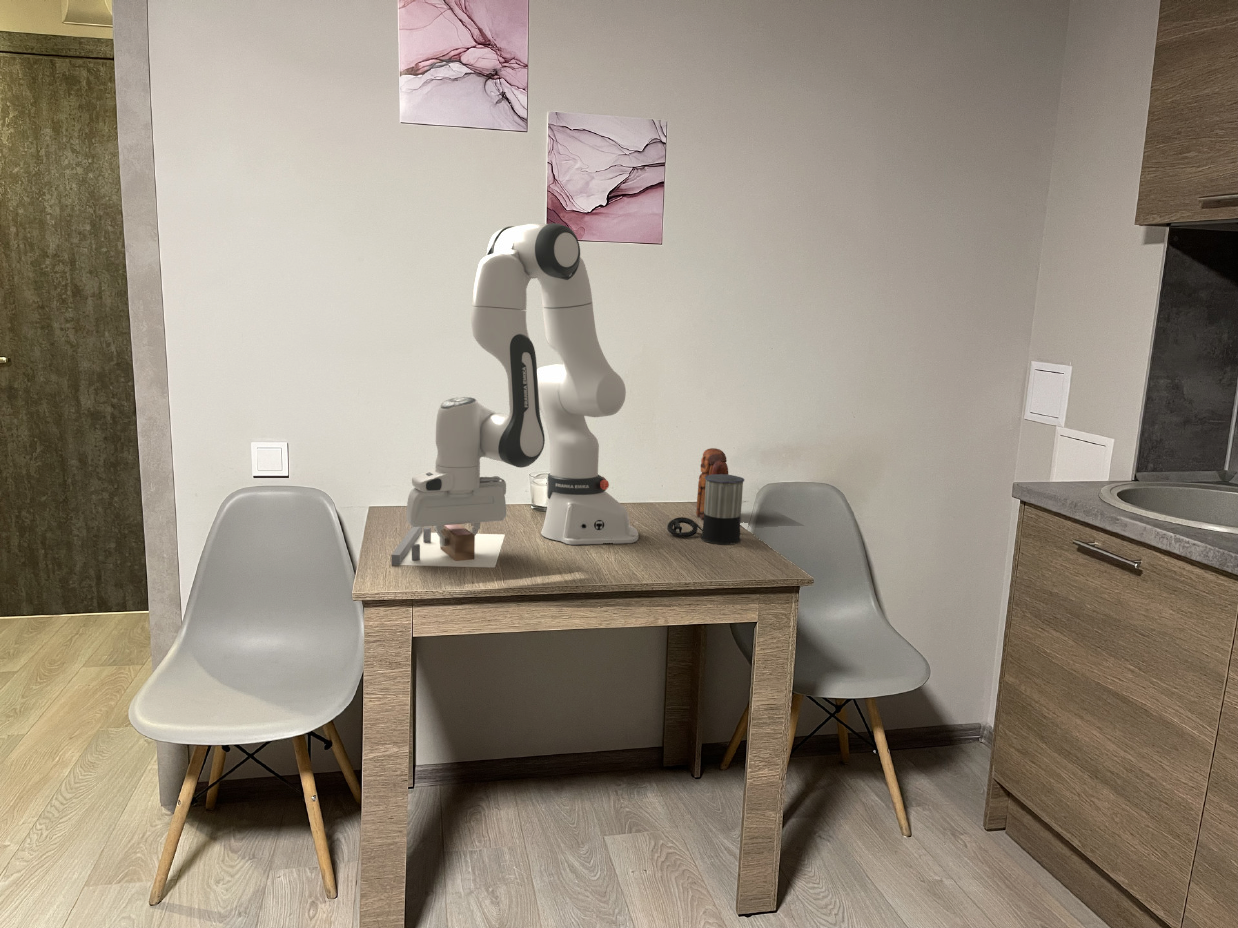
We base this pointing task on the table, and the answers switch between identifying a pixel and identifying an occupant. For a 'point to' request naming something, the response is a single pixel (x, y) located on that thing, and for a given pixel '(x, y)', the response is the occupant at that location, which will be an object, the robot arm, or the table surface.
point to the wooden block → (459, 542)
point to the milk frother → (717, 511)
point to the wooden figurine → (710, 465)
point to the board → (427, 551)
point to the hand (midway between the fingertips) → (457, 544)
